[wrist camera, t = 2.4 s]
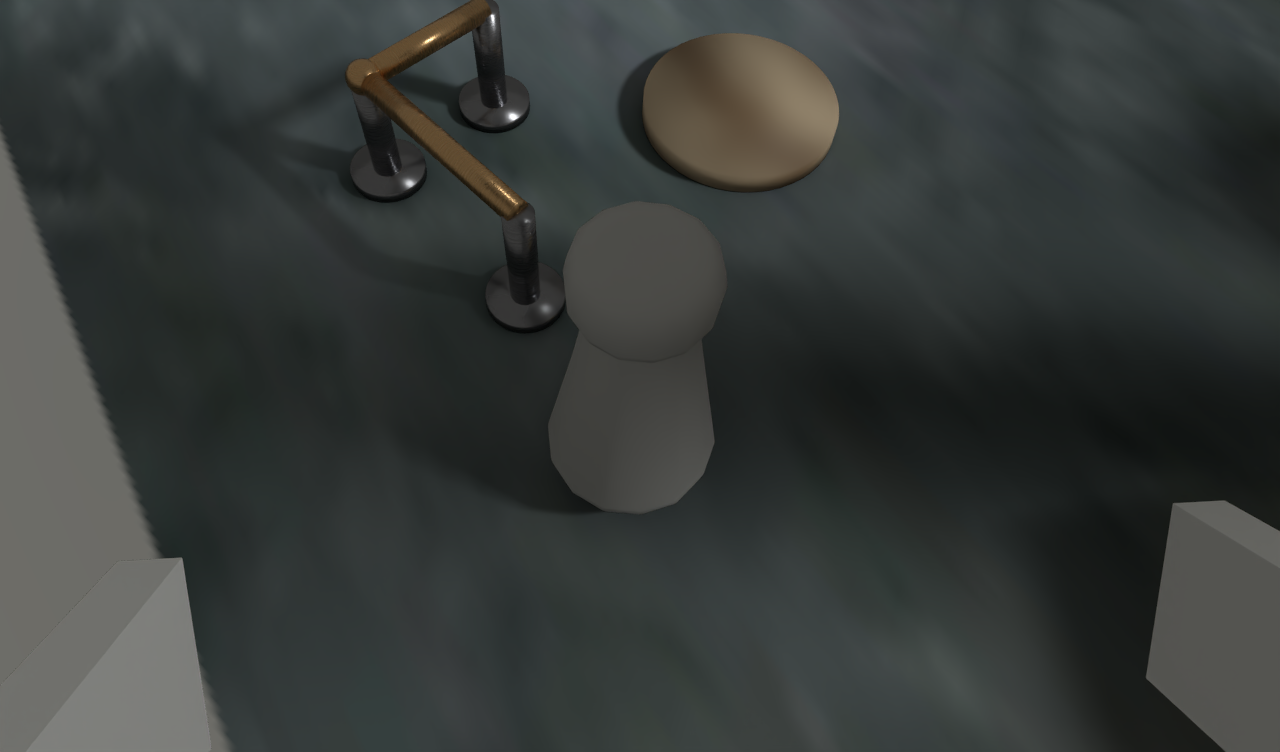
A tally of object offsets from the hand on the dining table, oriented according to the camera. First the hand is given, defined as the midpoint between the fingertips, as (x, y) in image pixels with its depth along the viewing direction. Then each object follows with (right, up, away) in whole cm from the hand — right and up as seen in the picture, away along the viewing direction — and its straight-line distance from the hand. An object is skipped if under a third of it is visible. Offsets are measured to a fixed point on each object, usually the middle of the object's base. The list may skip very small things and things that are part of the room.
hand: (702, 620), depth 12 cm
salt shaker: (-1, 0, +23) cm, 23 cm away
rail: (-6, +11, +28) cm, 31 cm away
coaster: (+4, +15, +31) cm, 35 cm away
